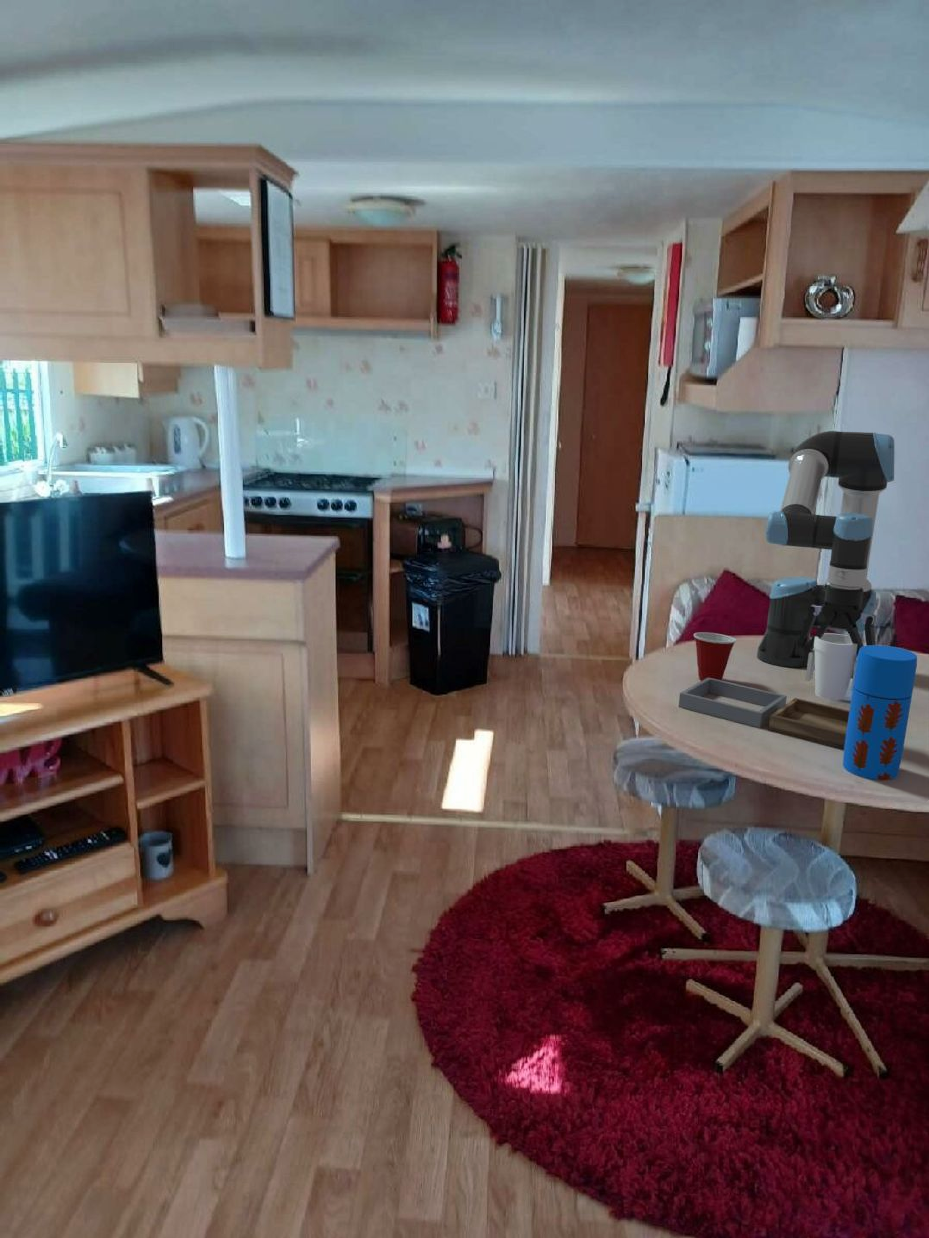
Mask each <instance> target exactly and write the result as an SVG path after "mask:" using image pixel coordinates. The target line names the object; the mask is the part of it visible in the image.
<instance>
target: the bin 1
mask: <svg viewBox="0 0 929 1238" xmlns="http://www.w3.org/2000/svg"><path fill="white" fill-rule="evenodd" d="M707 694H714V695H717V696H722V697H724V698H725V697H726V698H730V699H734V700H736V701H737V700H738V701H741V702H742V701H743V702H746V703H750V704H755V705H758V706H762V707H763V708H762V709H760V710H755V709H752V708H747V707H743V706H740V705H735V704H731V703H728V702H723V701H719V700H715V699H711V698H707V697H704V696H706V695H707ZM678 698H679V701H678V707H679V708H682V709H686V710H688V711H693V712H697V713H700V714H701V713H702V714H705V715H709V716H713V717H716V718H721V719H724V720H728V721H732V722H735V723H739V724H744V725H747V726H751V727H754V728H759V729H761V728H762V727H763V726H764V725H766V724H767V723H769V721H770V715H772V714H773V713H775V712H776V711H777V710H779V709H780V708H782V707H783V706H784V705H786V704H787V698H788V696H787V695H785V694H780V693H776V692H771V691H768V690H763V689H759V688H755V687H749V686H745V685H742V684H737V683H733V682H730V681H729V682H728V681H725V680H722V681H721V680H717V679H713V678H706V679H704V680H703V681H701V680H700V681H698V682H697V683H696V684H693V685H692V686H690V687H688V688H686V689H685V690H683V691H681V692H679V697H678Z"/></svg>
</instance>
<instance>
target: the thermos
mask: <svg viewBox="0 0 929 1238" xmlns="http://www.w3.org/2000/svg"><path fill="white" fill-rule="evenodd" d="M856 661H857V663H856V670H855V677H854V684H853V690H852V691H851V692H852V693H851V698H850V704H849V705H850V707H849V718H848V725H847V732H846V738H845V745H844V750H843V759H842V766H843V768H844V770H846V771H847V772H849V773H851V774H853V775H855V776H858V777H861V778H864V779H869V780H875V781H888V780H893V779H896V778H897V776H898V775H899V772H900V766H901V763H902V758H903V753H904V746H905V739H906V735H907V728H908V722H909V717H910V709H911V705H912V697H913V691H914V685H915V680H916V673H917V672H916V671H917V667H918V656H917V655H916V653H914V652H913V651H910V650H907V649H904V648H900V647H896V646H890V645H882V644H881V645H880V644H878V645H877V644H876V645H864V646H863V647H861V648H860V650H859V653H858V656H857V659H856Z"/></svg>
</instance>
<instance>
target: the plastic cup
mask: <svg viewBox="0 0 929 1238" xmlns="http://www.w3.org/2000/svg"><path fill="white" fill-rule="evenodd" d="M693 637H694V641H695V647H696V648H695V649H696V664H697V672H698V679H699V680H700V682H701V681H703V680H704V679H706V678H713V679H717V680H721V681H723V678H724V676H725V675H724V674H725V671H726V669H727V665H728V663H729V659H730V658H729V657H730V656H731V651H733V650H732V649H733V647H734V645H735V643H737V639H736V638H735V637H733V636H730V635H726V634H721V633H716V632H705V631H704V632H701V631H700V632H695V633H693Z"/></svg>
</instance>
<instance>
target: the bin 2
mask: <svg viewBox="0 0 929 1238" xmlns="http://www.w3.org/2000/svg"><path fill="white" fill-rule="evenodd" d="M849 711H850V709H849V710H848V709H844V708H839V707H835V706H831V705H828V704H827V705H826V704H823V703H818V702H814V701H810V700H806V699H802V698H797V697H794V698H793V699H792V700H790V701H789V702H786V705H784V706H783V707H782V708H780V709H779V710H777V711H776V712H775V713H773V714H772V715H770V721H769V722H768V731H769V732H770V731H771V732H774V733H778V734H782V735H784V736H790V737H793V738H796V739H797V738H798V739H801V740H805V741H809V742H812V743H817V744H821V745H824V746H826V747H827V746H829V747H831V748H835V749H840V750H843V751H844V745H845V738H846V732H847V725H848V718H849Z"/></svg>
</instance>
